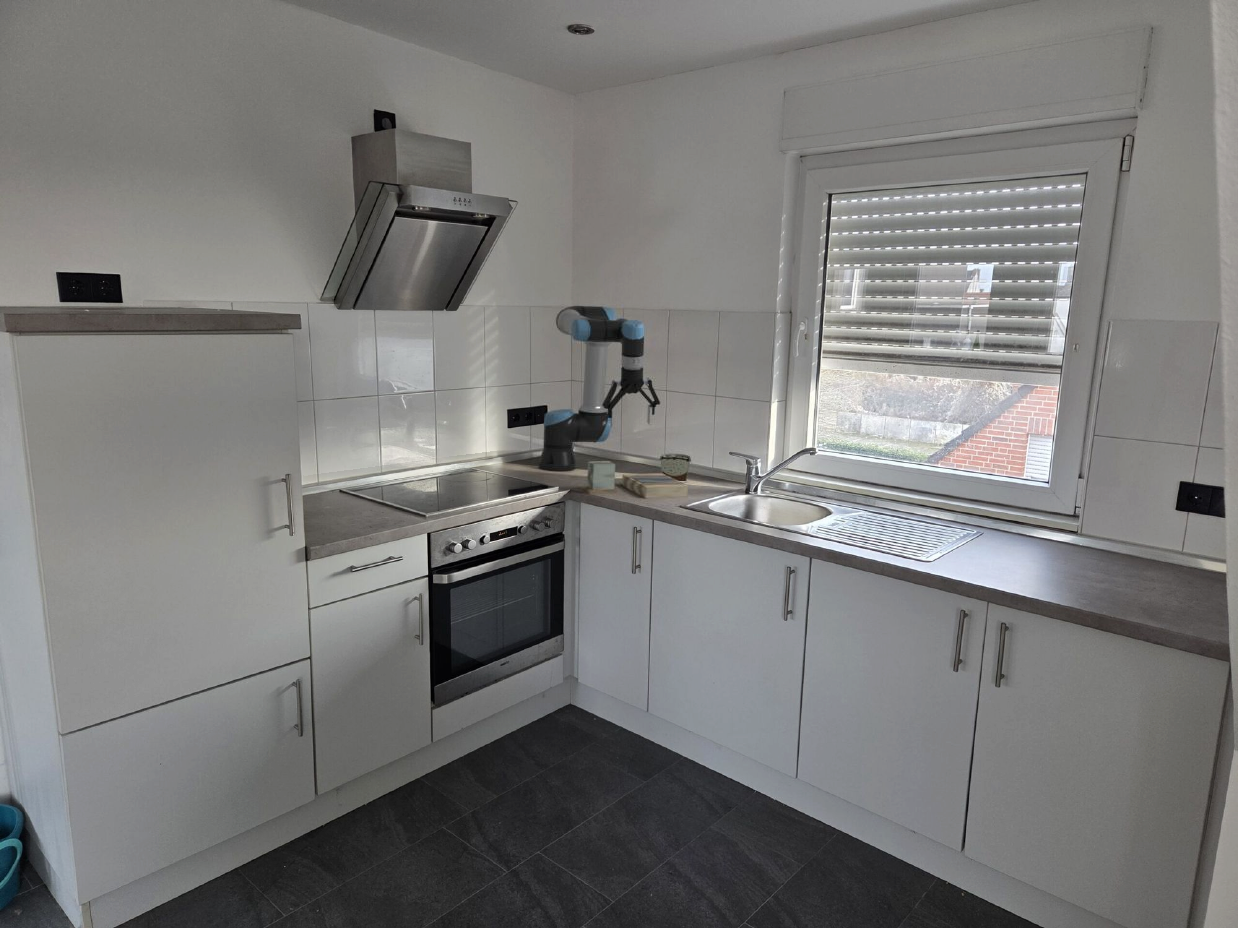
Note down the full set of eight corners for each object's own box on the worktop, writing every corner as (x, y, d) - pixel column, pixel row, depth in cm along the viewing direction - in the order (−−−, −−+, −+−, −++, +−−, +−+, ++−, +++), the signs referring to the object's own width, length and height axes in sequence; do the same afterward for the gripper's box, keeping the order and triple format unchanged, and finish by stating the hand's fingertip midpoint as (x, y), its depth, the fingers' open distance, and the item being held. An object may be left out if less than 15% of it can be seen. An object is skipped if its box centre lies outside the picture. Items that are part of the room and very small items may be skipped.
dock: (622, 484, 302) (622, 473, 301) (661, 483, 308) (661, 472, 307) (645, 498, 282) (646, 486, 281) (687, 496, 288) (687, 485, 288)
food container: (690, 479, 318) (691, 454, 316) (690, 482, 312) (691, 457, 310) (658, 477, 319) (660, 452, 318) (658, 480, 313) (659, 455, 311)
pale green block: (584, 490, 290) (585, 461, 288) (610, 489, 294) (611, 460, 292) (590, 494, 285) (591, 464, 283) (616, 493, 289) (617, 464, 287)
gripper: (599, 372, 271) (599, 431, 280) (670, 367, 277) (668, 425, 286) (594, 365, 278) (593, 424, 286) (663, 361, 284) (661, 418, 292)
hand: (630, 425), depth 286 cm, fingers open, 13 cm apart
